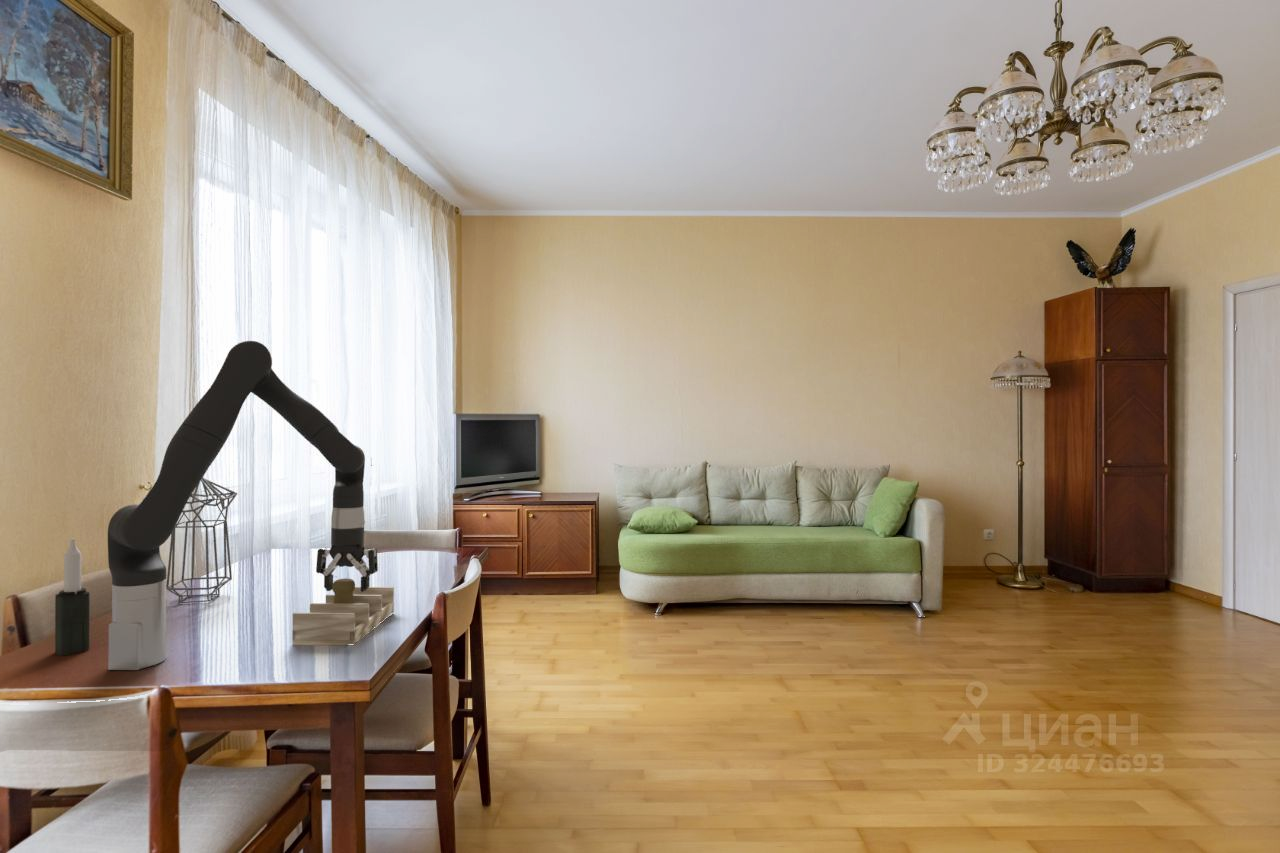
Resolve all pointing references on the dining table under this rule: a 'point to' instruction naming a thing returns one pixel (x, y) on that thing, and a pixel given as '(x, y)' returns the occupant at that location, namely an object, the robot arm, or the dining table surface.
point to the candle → (72, 607)
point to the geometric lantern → (231, 495)
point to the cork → (343, 590)
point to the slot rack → (343, 618)
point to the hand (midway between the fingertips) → (346, 590)
